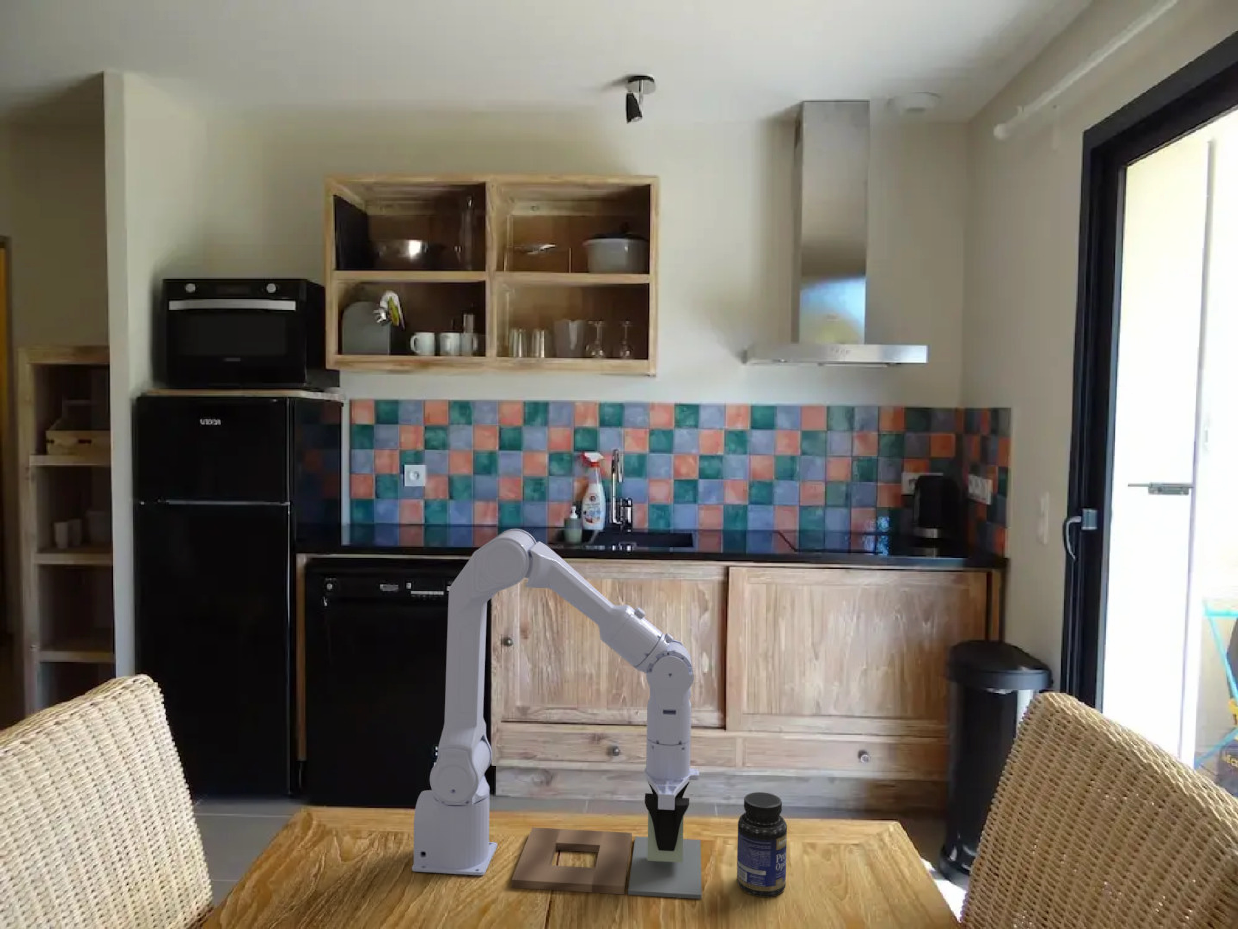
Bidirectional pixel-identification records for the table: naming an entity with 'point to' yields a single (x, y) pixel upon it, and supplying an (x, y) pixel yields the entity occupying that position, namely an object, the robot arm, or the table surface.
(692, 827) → the table surface
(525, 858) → the pocket board
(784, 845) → the pill bottle
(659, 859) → the sage block
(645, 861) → the mat
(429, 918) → the table surface
